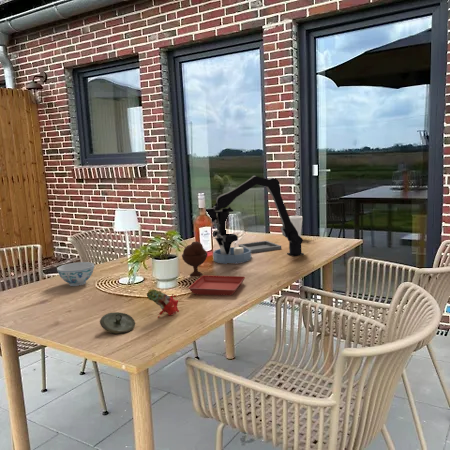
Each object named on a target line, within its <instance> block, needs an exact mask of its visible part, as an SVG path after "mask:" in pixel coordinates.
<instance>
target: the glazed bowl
mask: <svg viewBox="0 0 450 450" xmlns="http://www.w3.org/2000/svg"><path fill="white" fill-rule="evenodd" d="M236 247H237V246H235V247H234V246H233V247H232V246H231V247H230V253H231V254H230V255H221V252H220V248H219V249H215V250H213V252H212V254H213V255H212V257H213V261H214V262H215V263H217V264H227V263H235V264H240V263H241V262H242V263H246V262H249V261H251V259H252V253H251V249H248V248H243V249H244V253H243V254H237V255H234V248H236Z"/></svg>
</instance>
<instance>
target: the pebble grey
mask: <svg viewBox="0 0 450 450" xmlns="http://www.w3.org/2000/svg"><path fill="white" fill-rule="evenodd" d="M219 249H220V252H221V255H230V254H231V253H230V251H229V254H226V252H225V249H224V247H223V245H221V246H219Z"/></svg>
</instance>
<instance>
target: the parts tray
mask: <svg viewBox="0 0 450 450" xmlns="http://www.w3.org/2000/svg"><path fill="white" fill-rule="evenodd" d="M237 247H243V248H248V249H251V254H256V253H264V252H265V253H266V252H270V251H271V252H272V251H277V250H282V245H280V244H277V243H275V242H271V241H269V240H263V241H256V242H255V241H254V242H248V243H239V244H238V245H237Z"/></svg>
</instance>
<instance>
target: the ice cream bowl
mask: <svg viewBox="0 0 450 450" xmlns="http://www.w3.org/2000/svg"><path fill="white" fill-rule="evenodd" d="M181 257H182V260H183V261H184V263H186V264H187V265H188V266H189V267H193V271H192V272H191V273H190V274H189V277H191V278H200V277H201V276H203V273H202V272H199V270H198V267H200V266H202V265H203V264H204V263H205V261H206V259H207V258H208V252H207V251H206V249H205V248H204V246H203V244H202V242H200V241H198V240H196V241H192V242H191V244H188V245H186V246H185V247H184V249H183V253H182V254H181Z"/></svg>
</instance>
